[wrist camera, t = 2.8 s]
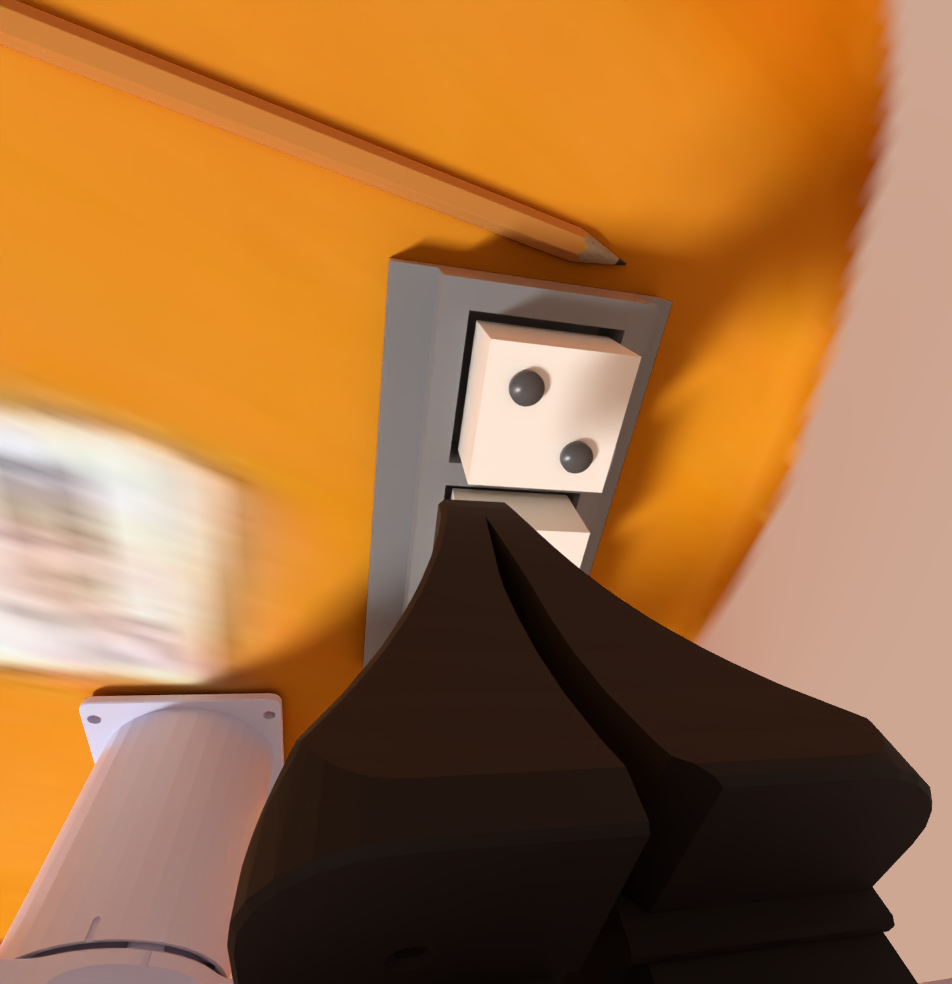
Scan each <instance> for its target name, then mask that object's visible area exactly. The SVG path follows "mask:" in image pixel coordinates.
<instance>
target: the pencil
mask: <svg viewBox="0 0 952 984" xmlns="http://www.w3.org/2000/svg"><path fill="white" fill-rule="evenodd" d="M0 45H2V46H5V47H7V48H10V49H12V50H15V51H18V52H20V53H23V54H26V55H28V56H31V57H34V58H36V59H39V60H41V61H44V62H47V63H49V64H52V65H55V66H57V67H60V68H62V69H65V70H68V71H70V72H73V73H76V74H78V75H81V76H84V77H86V78H89V79H91V80H94V81H97V82H99V83H102V84H105V85H107V86H110V87H112V88H115V89H118V90H120V91H123V92H126V93H128V94H131V95H133V96H136V97H139V98H141V99H144V100H147V101H149V102H152V103H155V104H157V105H160V106H162V107H165V108H168V109H170V110H173V111H176V112H178V113H181V114H183V115H186V116H189V117H191V118H194V119H197V120H199V121H202V122H205V123H207V124H210V125H212V126H215V127H218V128H220V129H223V130H226V131H228V132H231V133H233V134H236V135H239V136H241V137H244V138H247V139H249V140H252V141H254V142H257V143H260V144H262V145H265V146H268V147H270V148H273V149H276V150H278V151H281V152H283V153H286V154H289V155H291V156H294V157H297V158H299V159H302V160H304V161H307V162H310V163H312V164H315V165H318V166H320V167H323V168H326V169H328V170H331V171H333V172H336V173H339V174H341V175H344V176H347V177H349V178H352V179H354V180H357V181H360V182H362V183H365V184H368V185H370V186H373V187H376V188H378V189H381V190H383V191H386V192H389V193H391V194H394V195H397V196H399V197H402V198H404V199H407V200H410V201H412V202H415V203H418V204H420V205H423V206H425V207H428V208H431V209H433V210H436V211H439V212H441V213H444V214H447V215H449V216H452V217H454V218H457V219H460V220H462V221H465V222H468V223H470V224H473V225H475V226H478V227H481V228H483V229H486V230H489V231H491V232H494V233H497V234H499V235H502V236H504V237H507V238H510V239H512V240H515V241H518V242H520V243H523V244H525V245H528V246H531V247H533V248H536V249H539V250H541V251H544V252H546V253H549V254H552V255H554V256H557V257H560V258H562V259H565V260H568V261H572V262H586V263H599V264H613V265H626V263H625V262H623V261H622V260H621V259H620V258H618V257H617V256H616V255H615V254H613V253H612V252H611V251H610V250H609V249H607V248H606V247H605V246H604V245H602V244H601V243H600V242H599V241H597V240H596V239H595V238H594V237H592V236H591V235H590V234H589V233H588V232H586V231H585V230H584V229H582V228H580V227H578V226H575V225H573V224H570V223H568V222H565V221H563V220H560V219H558V218H555V217H553V216H550V215H548V214H545V213H543V212H540V211H538V210H535V209H533V208H530V207H528V206H525V205H523V204H521V203H518V202H516V201H513V200H511V199H508V198H506V197H503V196H501V195H498V194H496V193H493V192H491V191H488V190H486V189H483V188H481V187H478V186H476V185H473V184H471V183H468V182H466V181H463V180H461V179H458V178H456V177H453V176H451V175H449V174H446V173H444V172H441V171H439V170H436V169H434V168H431V167H429V166H426V165H424V164H421V163H419V162H416V161H414V160H411V159H409V158H406V157H404V156H401V155H399V154H396V153H394V152H391V151H389V150H386V149H384V148H382V147H379V146H377V145H374V144H372V143H369V142H367V141H364V140H362V139H359V138H357V137H354V136H352V135H349V134H347V133H344V132H342V131H339V130H337V129H334V128H332V127H329V126H327V125H324V124H322V123H319V122H317V121H315V120H312V119H310V118H307V117H305V116H302V115H300V114H297V113H295V112H292V111H290V110H287V109H285V108H282V107H280V106H277V105H275V104H272V103H270V102H267V101H265V100H262V99H260V98H257V97H255V96H252V95H250V94H248V93H245V92H243V91H240V90H238V89H235V88H233V87H230V86H228V85H225V84H223V83H220V82H218V81H215V80H213V79H210V78H208V77H205V76H203V75H200V74H198V73H195V72H193V71H190V70H188V69H185V68H183V67H181V66H178V65H176V64H173V63H171V62H168V61H166V60H163V59H161V58H158V57H156V56H153V55H151V54H148V53H146V52H143V51H141V50H138V49H136V48H133V47H131V46H128V45H126V44H123V43H121V42H118V41H116V40H113V39H111V38H109V37H106V36H104V35H101V34H99V33H96V32H94V31H91V30H89V29H86V28H84V27H81V26H79V25H76V24H74V23H71V22H69V21H66V20H64V19H61V18H59V17H56V16H54V15H51V14H49V13H46V12H44V11H42V10H39V9H37V8H34V7H32V6H29V5H27V4H24V3H22V2H19V1H17V0H0Z"/></svg>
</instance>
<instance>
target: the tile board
mask: <svg viewBox="0 0 952 984" xmlns="http://www.w3.org/2000/svg"><path fill="white" fill-rule="evenodd" d="M671 306H672V301H669V300H666V299H663V298H660V297H656V296H649V295H642V294H636V293H629V292H622V291H615V290H608V289H601V288H595V287H588V286H581V285H574V284H567V283H560V282H554V281H547V280H540V279H533V278H526V277H519V276H513V275H506V274H499V273H492V272H485V271H479V270H472V269H465V268H458V267H451V266H444V265H438V264H431V263H424V262H417V261H410V260H403V259H397V258H390V257H389V270H388V285H387V301H386V316H385V332H384V348H383V363H382V379H381V394H380V410H379V425H378V441H377V457H376V472H375V488H374V503H373V519H372V535H371V550H370V566H369V581H368V597H367V612H366V628H365V644H364V659H363V669H364V667H365V666H366V665H367V664H368V663H369V661H370V660H371V659H372V658H373V656H374V655H375V654H376V653H377V651H378V650H379V649H380V647H381V646H382V645H383V643H384V642H385V640H386V639H387V638H388V636H389V635H390V633H391V632H392V630H393V628H394V627H395V625H396V624H397V622H398V621H399V619H400V618H401V616H402V615H403V613H404V611H405V609H406V608H407V606H408V604H409V602H410V601H411V599H412V597H413V595H414V593H415V591H416V589H417V587H418V585H419V583H420V581H421V579H422V577H423V574H424V572H425V570H426V567H427V565H428V562H429V560H430V558H431V555H432V552H433V544H434V536H435V527H436V519H437V511H438V504H439V503H440V502H442V501H443V500H444V499H451V494H452V488H459V489H475V490H492V491H508V492H524V493H541V494H557V495H567V496H568V498H569V500H570V501H571V503H572V504H573V506H574V508H575V509H576V511H577V513H578V514H579V516H580V517H581V519H582V521H583V522H584V524H585V525H586V527H587V529H588V530H589V532H590V535H589V538H588V542H587V545H586V549H585V552H584V556H583V559H582V562H581V566H580V569H581V570H582V571H583V572H585V573H586V574H587V575H590V571H591V568H592V565H593V562H594V558H595V555H596V552H597V548H598V545H599V542H600V539H601V535H602V532H603V529H604V525H605V522H606V519H607V516H608V512H609V509H610V506H611V502H612V499H613V496H614V493H615V489H616V486H617V483H618V480H619V476H620V473H621V470H622V466H623V463H624V460H625V457H626V453H627V450H628V447H629V443H630V440H631V437H632V434H633V430H634V427H635V424H636V420H637V417H638V414H639V411H640V407H641V404H642V401H643V398H644V394H645V391H646V388H647V384H648V381H649V378H650V375H651V371H652V368H653V365H654V361H655V358H656V355H657V352H658V348H659V345H660V342H661V338H662V335H663V332H664V329H665V325H666V322H667V319H668V316H669V312H670V309H671ZM476 320H480V321H488V322H496V323H504V324H512V325H519V326H527V327H535V328H543V329H551V330H559V331H567V332H575V333H582V334H590V335H598V336H606V337H609V338H611V339H612V340H614V341H616V342H617V343H619V344H621V345H622V346H624V347H626V348H627V349H629V350H631V351H632V352H634V353H636V354H637V355H639V356H641V361H640V364H639V367H638V371H637V374H636V378H635V381H634V384H633V388H632V391H631V395H630V398H629V402H628V405H627V408H626V412H625V415H624V419H623V422H622V426H621V429H620V432H619V436H618V439H617V443H616V446H615V449H614V453H613V456H612V460H611V463H610V467H609V470H608V473H607V477H606V480H605V484H604V487H603V491H602V493H598V492H582V491H566V490H550V489H534V488H518V487H502V486H486V485H470V484H468V483H467V479H466V476H465V472H464V469H463V465H462V462H461V458H460V455H459V451H458V445H459V438H460V431H461V424H462V417H463V410H464V403H465V396H466V389H467V382H468V375H469V368H470V361H471V354H472V346H473V339H474V332H475V325H476Z"/></svg>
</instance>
